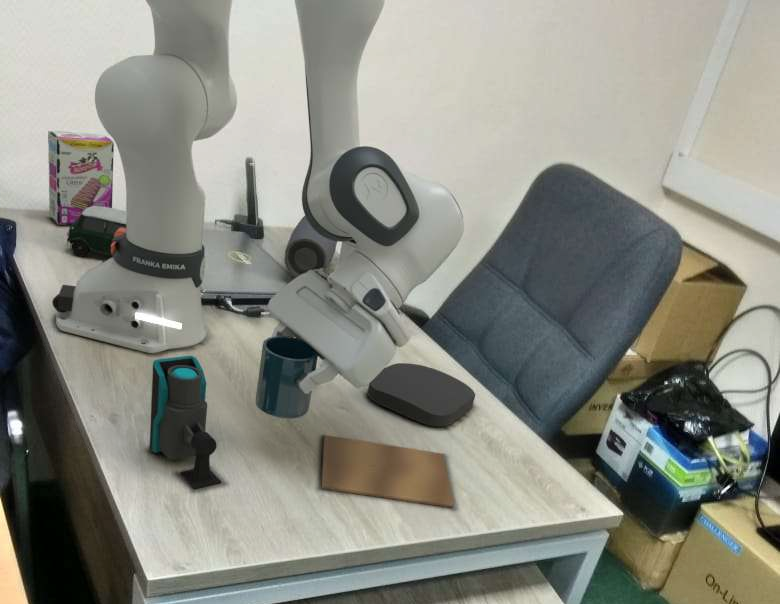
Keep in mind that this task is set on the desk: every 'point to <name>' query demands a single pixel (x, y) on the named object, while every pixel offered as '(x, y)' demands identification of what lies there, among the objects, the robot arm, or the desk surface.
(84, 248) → the miniature car
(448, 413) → the media streaming box
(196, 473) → the surveillance camera
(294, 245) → the bluetooth speaker
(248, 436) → the desk surface
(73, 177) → the candy bar box
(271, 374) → the cup
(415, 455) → the brown flat rectangular board
